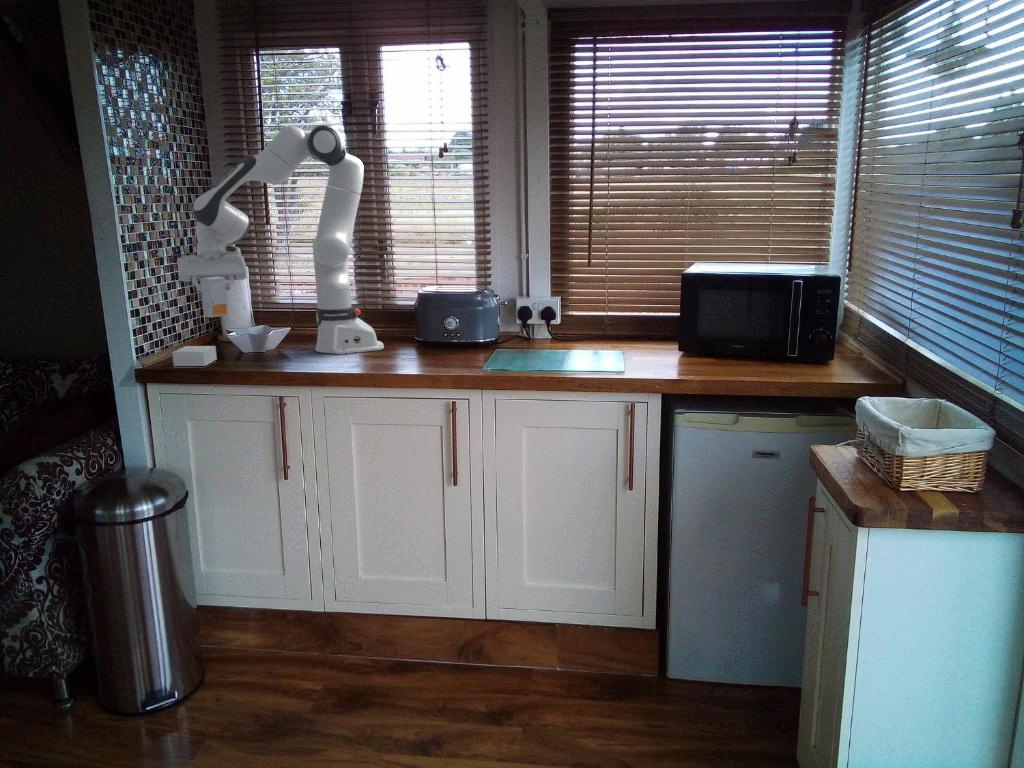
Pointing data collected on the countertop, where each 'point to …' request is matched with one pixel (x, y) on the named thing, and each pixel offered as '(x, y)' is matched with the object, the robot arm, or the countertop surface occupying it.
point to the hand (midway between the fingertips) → (213, 289)
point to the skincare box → (214, 296)
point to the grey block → (194, 356)
